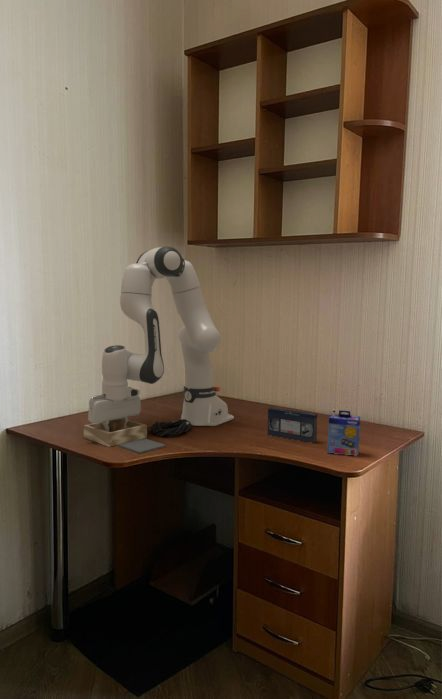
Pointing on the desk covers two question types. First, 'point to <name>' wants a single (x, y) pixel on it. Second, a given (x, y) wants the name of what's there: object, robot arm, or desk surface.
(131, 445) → the pad
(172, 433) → the cable
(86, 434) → the crate
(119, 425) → the block
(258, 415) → the desk surface
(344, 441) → the ink cartridge box
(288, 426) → the vhs cassette tape
